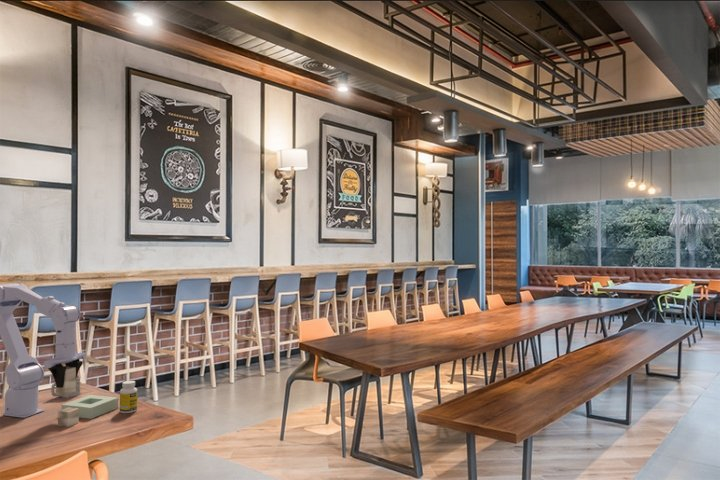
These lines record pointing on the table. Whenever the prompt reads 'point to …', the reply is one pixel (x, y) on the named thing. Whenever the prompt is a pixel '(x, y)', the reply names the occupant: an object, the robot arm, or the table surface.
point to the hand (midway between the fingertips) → (65, 385)
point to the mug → (71, 393)
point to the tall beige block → (68, 382)
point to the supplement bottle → (128, 397)
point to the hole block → (93, 405)
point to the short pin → (68, 417)
